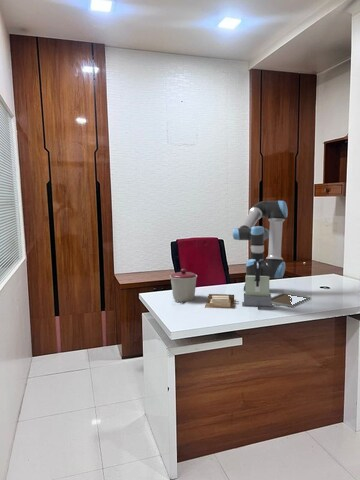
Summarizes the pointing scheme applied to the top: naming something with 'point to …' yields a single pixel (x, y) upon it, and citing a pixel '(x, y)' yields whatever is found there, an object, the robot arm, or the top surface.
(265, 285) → the panel
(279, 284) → the top surface
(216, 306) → the offcut lower
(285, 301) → the grey brown flat board
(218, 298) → the offcut upper
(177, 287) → the canister
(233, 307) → the rack
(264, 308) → the stand
